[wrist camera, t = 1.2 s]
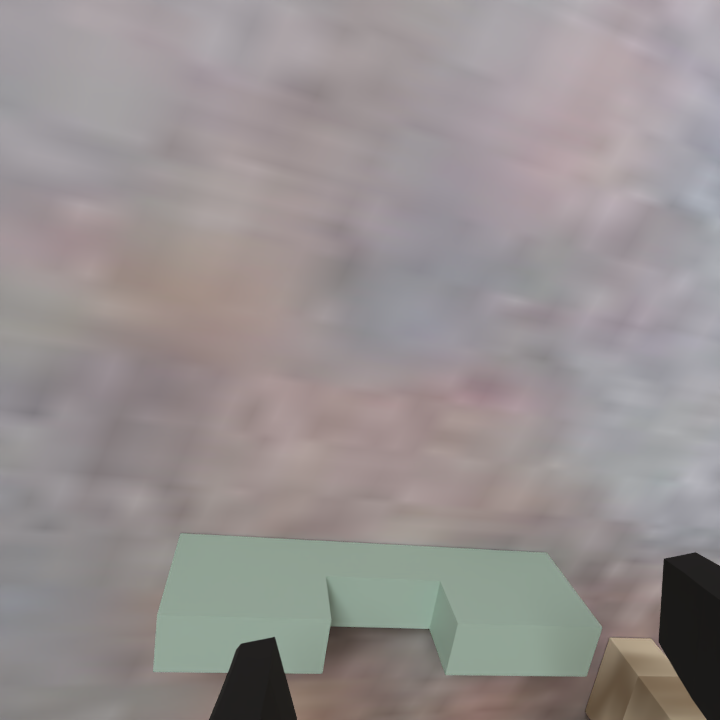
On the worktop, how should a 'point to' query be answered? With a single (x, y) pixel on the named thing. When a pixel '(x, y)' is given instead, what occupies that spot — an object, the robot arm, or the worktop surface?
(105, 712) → the worktop surface
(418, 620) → the notched rail
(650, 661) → the birch board
